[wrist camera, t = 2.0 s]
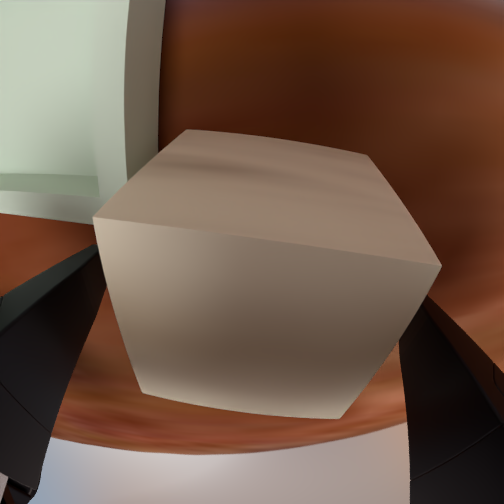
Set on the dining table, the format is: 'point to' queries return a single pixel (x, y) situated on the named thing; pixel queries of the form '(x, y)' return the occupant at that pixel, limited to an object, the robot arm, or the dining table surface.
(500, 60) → the dining table surface
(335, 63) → the dining table surface
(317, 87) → the dining table surface
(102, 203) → the tray
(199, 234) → the maple cube
